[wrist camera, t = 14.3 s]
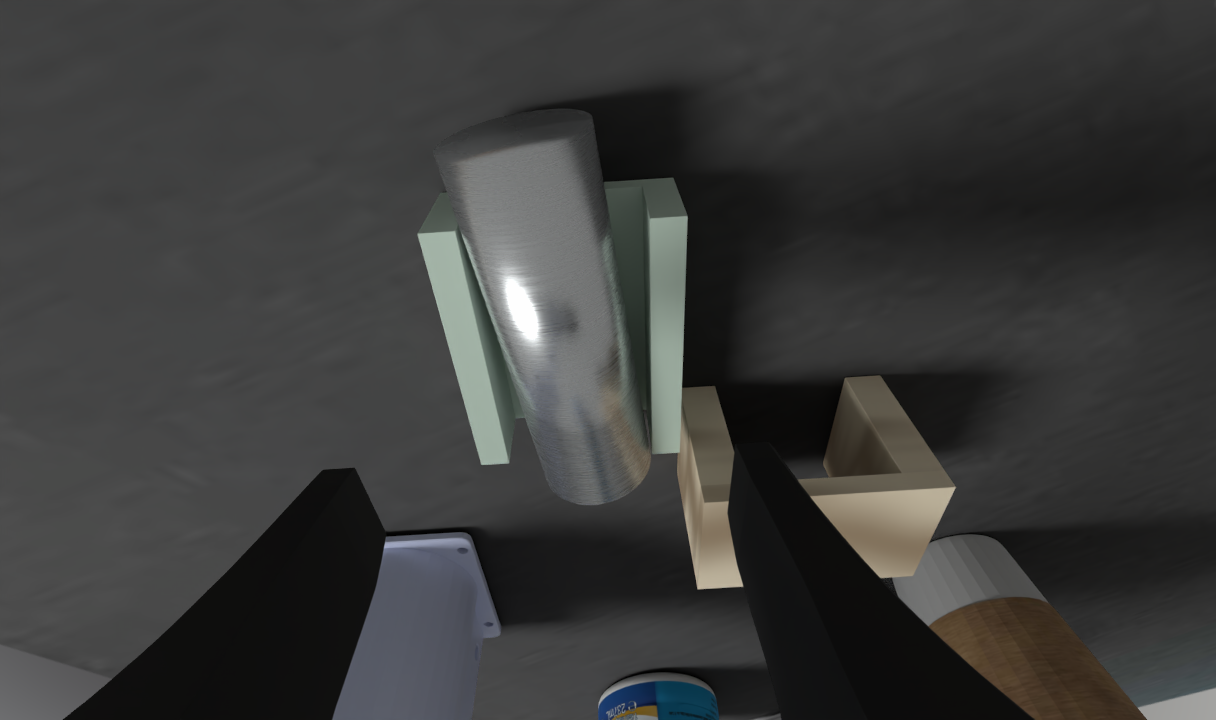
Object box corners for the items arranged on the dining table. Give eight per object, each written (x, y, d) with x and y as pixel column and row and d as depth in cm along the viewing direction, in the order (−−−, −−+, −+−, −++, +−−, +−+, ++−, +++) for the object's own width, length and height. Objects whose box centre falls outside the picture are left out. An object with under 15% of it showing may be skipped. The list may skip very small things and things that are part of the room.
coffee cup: (861, 541, 29) (1056, 964, 17) (1037, 501, 28) (1384, 934, 16) (873, 618, 34) (1031, 990, 22) (1023, 588, 32) (1280, 969, 20)
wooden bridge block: (853, 461, 25) (912, 576, 21) (677, 472, 25) (697, 589, 21) (879, 375, 22) (955, 487, 18) (679, 388, 22) (704, 502, 18)
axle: (664, 433, 22) (627, 516, 19) (572, 417, 23) (526, 491, 20) (617, 104, 14) (546, 159, 12) (489, 113, 16) (399, 164, 13)
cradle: (669, 398, 23) (679, 452, 20) (492, 409, 23) (481, 465, 20) (673, 177, 17) (687, 216, 15) (440, 192, 17) (417, 233, 15)
